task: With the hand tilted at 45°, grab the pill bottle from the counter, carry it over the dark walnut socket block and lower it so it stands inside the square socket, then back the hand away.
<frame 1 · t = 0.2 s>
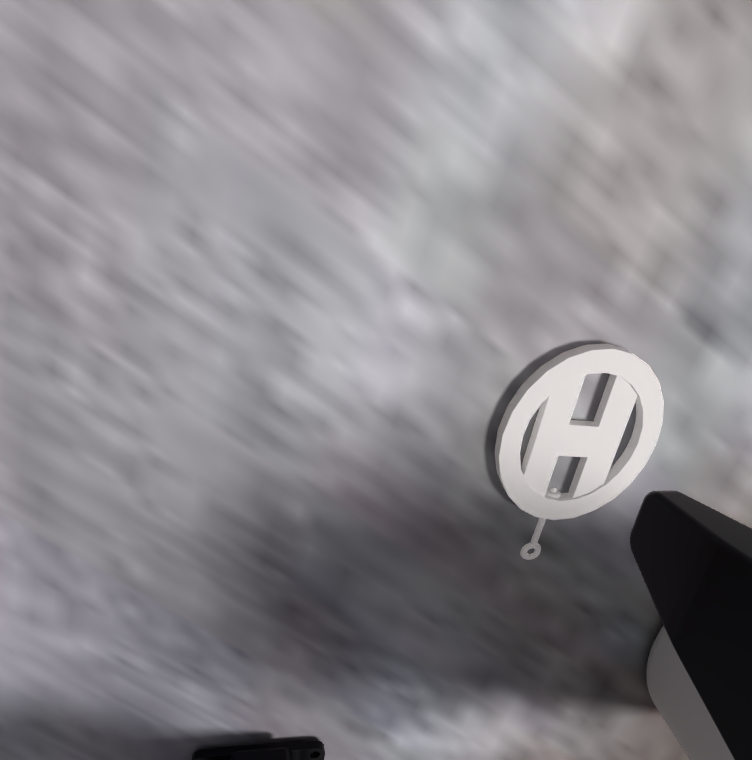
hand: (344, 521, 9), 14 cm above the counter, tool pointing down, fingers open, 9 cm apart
cylinder vase: (742, 631, 35), on the counter
pendant: (561, 454, 28), on the counter
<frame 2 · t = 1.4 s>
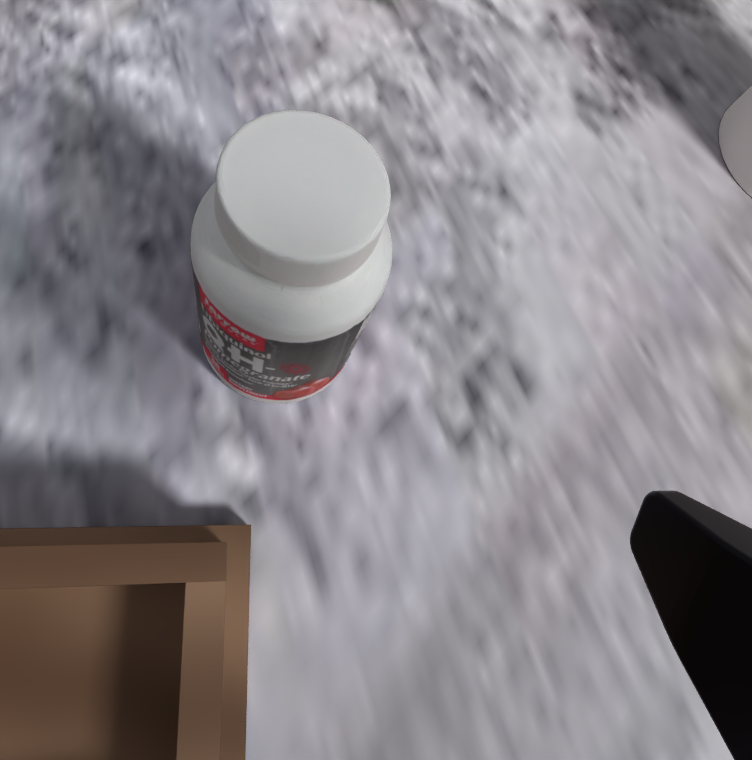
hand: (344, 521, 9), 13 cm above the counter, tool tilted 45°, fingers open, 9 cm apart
pill bottle: (277, 339, 24), on the counter
socket block: (71, 705, 19), on the counter
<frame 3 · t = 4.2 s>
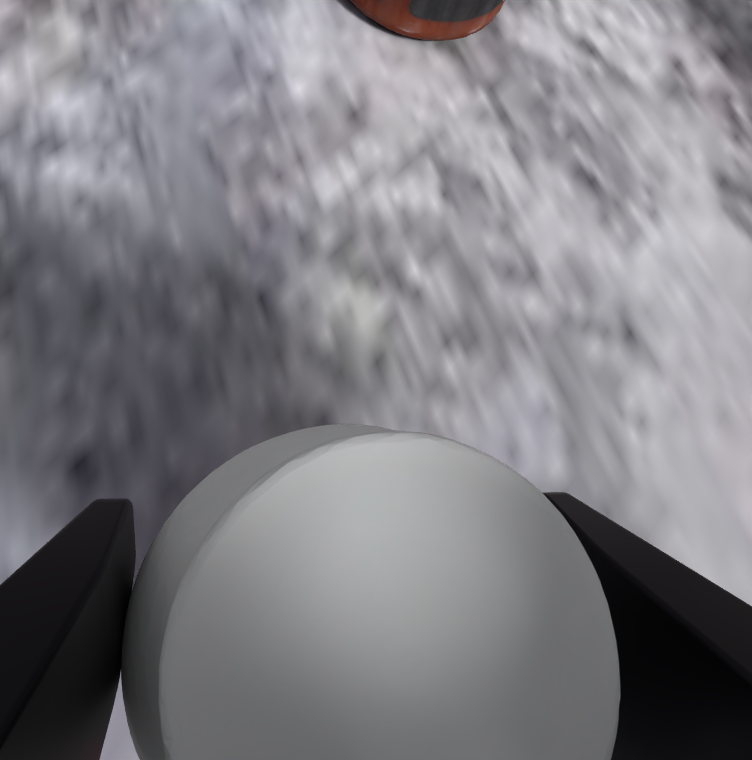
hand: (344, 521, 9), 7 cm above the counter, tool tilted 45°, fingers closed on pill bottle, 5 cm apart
pill bottle: (296, 611, 15), on the counter, touching gripper
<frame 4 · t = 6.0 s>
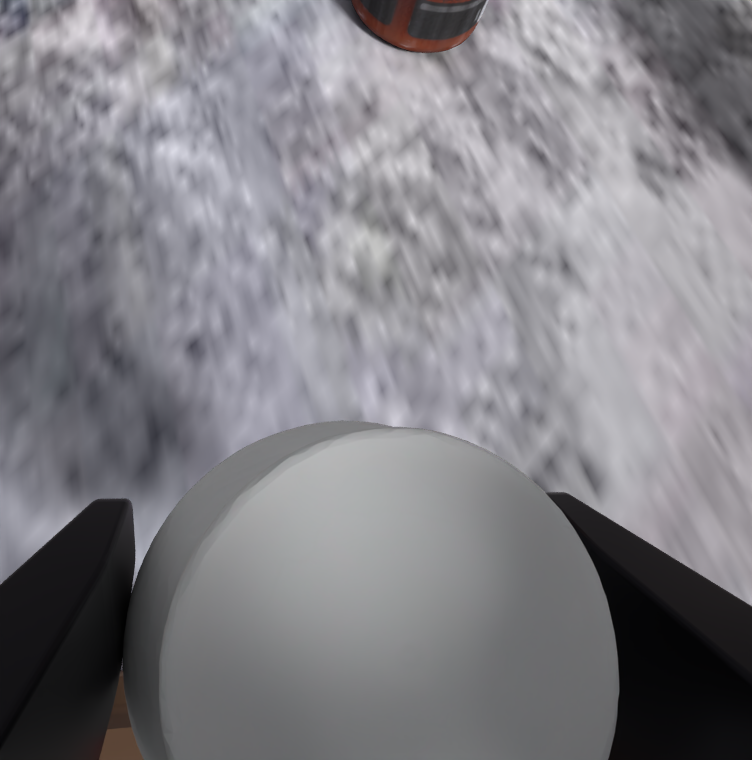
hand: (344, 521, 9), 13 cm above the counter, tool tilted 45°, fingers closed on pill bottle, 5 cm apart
supplement bottle: (410, 7, 28), on the counter
pill bottle: (298, 608, 15), point 6 cm above the counter, touching gripper
when the fingers open (9 cm above the counter, at t = 8.0 s): pill bottle drops 1 cm, resting on socket block.
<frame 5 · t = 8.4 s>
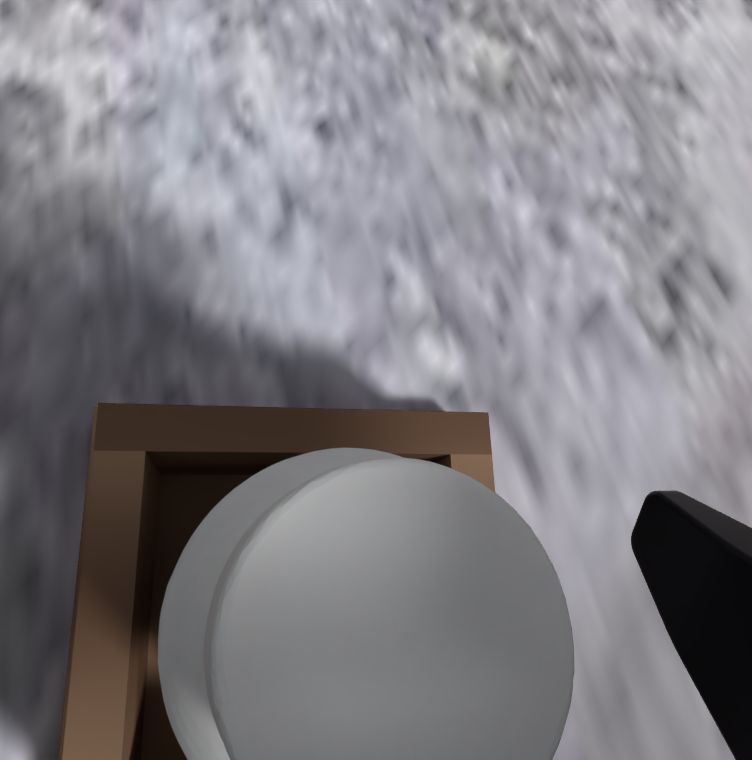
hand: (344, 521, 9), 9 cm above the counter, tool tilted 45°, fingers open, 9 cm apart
pill bottle: (295, 616, 16), point 1 cm above the counter, touching socket block
socket block: (288, 607, 17), on the counter
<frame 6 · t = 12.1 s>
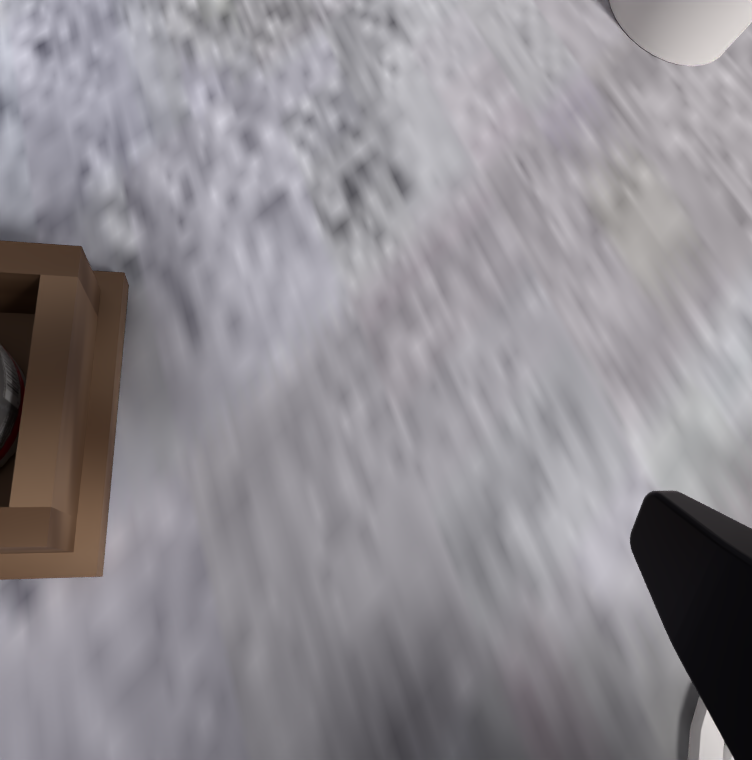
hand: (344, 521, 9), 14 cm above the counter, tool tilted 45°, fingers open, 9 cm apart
cylindrical container: (667, 13, 34), on the counter
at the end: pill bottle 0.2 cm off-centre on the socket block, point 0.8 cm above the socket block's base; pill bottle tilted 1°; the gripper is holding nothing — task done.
